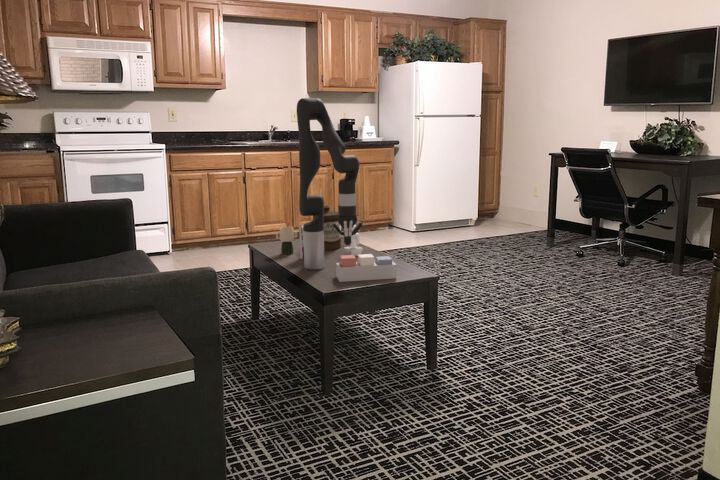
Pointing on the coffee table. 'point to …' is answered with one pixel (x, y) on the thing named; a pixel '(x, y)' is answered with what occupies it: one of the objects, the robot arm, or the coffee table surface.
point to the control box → (365, 272)
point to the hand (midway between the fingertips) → (347, 244)
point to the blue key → (383, 260)
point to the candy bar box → (301, 242)
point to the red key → (347, 260)
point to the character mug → (286, 239)
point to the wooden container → (331, 230)
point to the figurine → (354, 244)
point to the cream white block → (365, 259)
